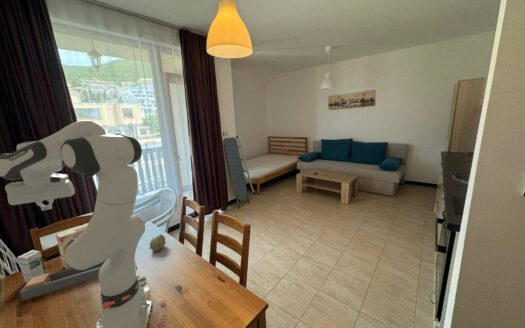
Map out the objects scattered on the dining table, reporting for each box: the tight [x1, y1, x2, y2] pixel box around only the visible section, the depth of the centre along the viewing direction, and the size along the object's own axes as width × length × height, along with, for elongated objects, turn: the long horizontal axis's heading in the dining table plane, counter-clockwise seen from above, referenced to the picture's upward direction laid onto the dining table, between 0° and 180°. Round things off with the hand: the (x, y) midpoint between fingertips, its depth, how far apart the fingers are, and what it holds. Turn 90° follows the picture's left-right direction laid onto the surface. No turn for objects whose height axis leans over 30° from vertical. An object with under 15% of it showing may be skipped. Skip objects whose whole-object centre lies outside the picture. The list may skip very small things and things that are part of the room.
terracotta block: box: [24, 272, 51, 289], centre depth 96 cm, size 6×6×4 cm
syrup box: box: [17, 249, 48, 284], centre depth 102 cm, size 6×6×14 cm
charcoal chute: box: [19, 260, 106, 302], centre depth 102 cm, size 9×32×4 cm, turn 120°
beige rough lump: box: [148, 234, 167, 252], centre depth 124 cm, size 9×8×10 cm
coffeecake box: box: [55, 222, 89, 269], centre depth 115 cm, size 15×7×20 cm, turn 150°
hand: (47, 209), depth 91 cm, fingers closed
